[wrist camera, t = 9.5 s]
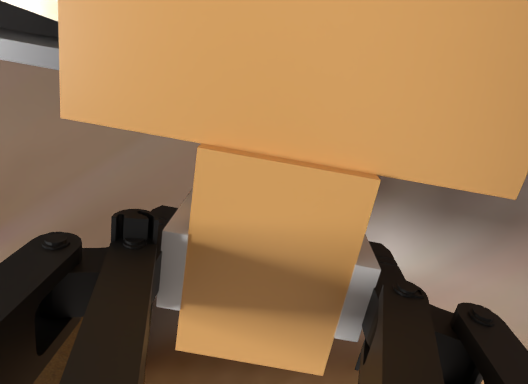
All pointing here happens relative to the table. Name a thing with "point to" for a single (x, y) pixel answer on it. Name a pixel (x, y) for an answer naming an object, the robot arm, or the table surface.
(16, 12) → the tub
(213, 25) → the tan paddle
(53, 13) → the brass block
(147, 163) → the table surface
